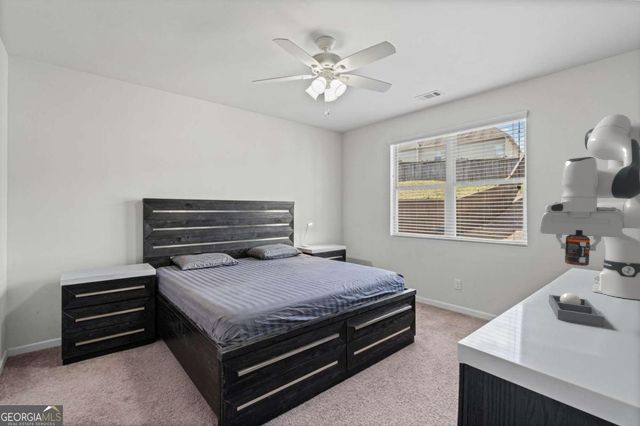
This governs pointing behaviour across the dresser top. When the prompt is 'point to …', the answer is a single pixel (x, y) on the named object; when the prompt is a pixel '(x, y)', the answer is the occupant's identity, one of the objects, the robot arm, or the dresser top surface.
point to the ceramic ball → (570, 299)
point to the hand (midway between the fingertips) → (577, 249)
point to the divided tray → (576, 311)
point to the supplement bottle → (577, 249)
